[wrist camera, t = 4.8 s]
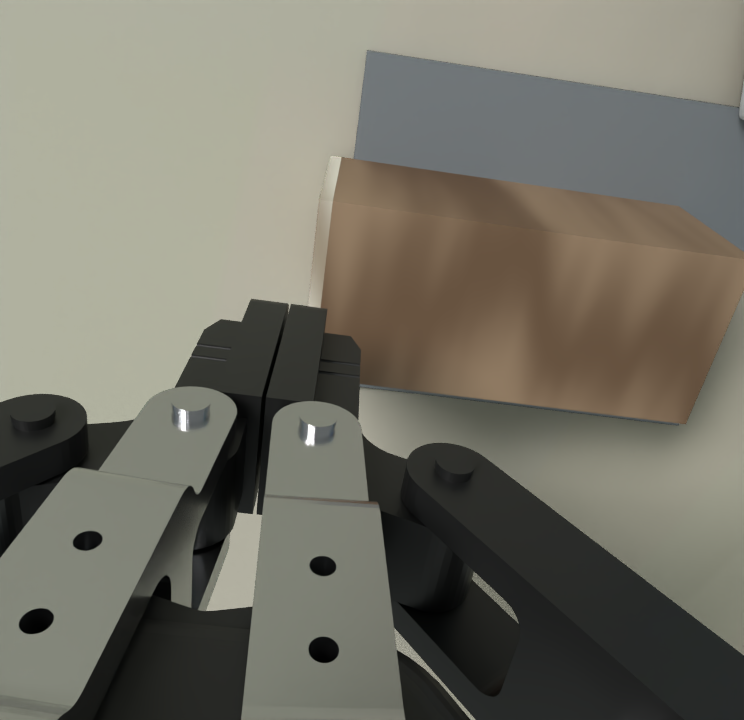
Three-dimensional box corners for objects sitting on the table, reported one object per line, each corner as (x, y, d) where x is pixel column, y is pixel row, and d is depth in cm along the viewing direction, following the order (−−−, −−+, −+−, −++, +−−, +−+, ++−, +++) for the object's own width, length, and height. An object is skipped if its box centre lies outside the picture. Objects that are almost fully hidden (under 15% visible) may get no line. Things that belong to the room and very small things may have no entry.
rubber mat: (367, 50, 18) (366, 50, 17) (803, 116, 18) (809, 119, 18) (326, 378, 22) (325, 382, 22) (675, 420, 23) (678, 425, 23)
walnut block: (319, 199, 15) (756, 261, 15) (331, 155, 19) (678, 206, 19) (300, 376, 17) (685, 424, 18) (314, 303, 21) (628, 344, 22)
